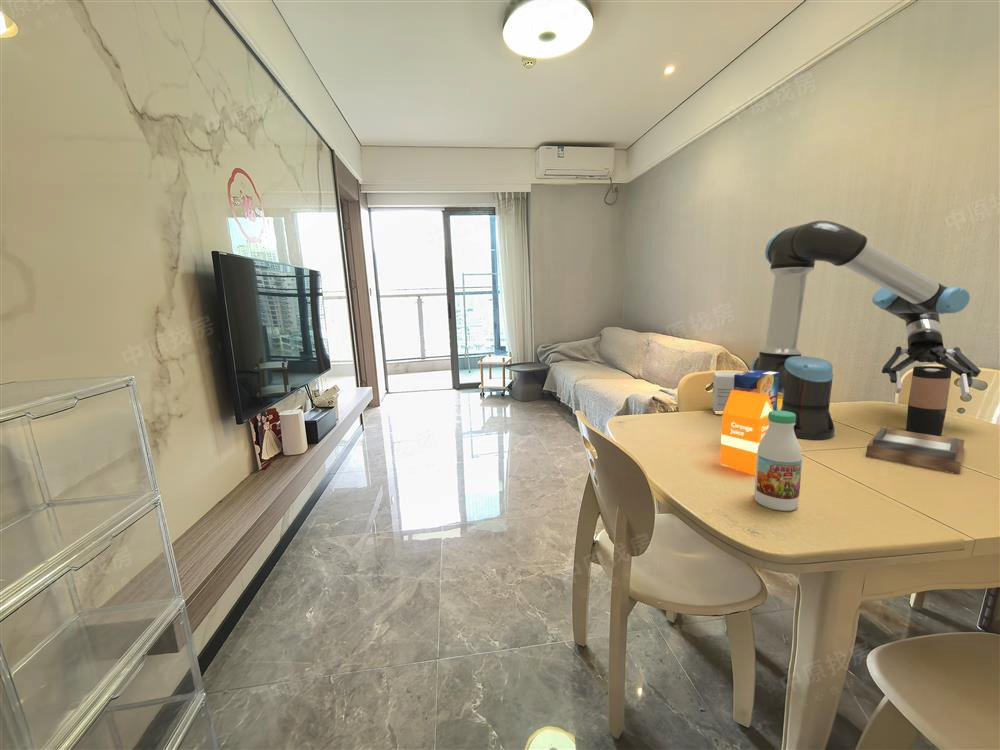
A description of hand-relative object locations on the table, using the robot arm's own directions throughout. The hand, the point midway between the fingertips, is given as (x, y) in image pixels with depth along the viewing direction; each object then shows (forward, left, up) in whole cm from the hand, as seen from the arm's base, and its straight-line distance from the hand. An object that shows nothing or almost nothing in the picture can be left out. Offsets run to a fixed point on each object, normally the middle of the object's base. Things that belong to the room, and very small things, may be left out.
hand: (930, 392), depth 114 cm
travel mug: (-2, -2, -12) cm, 13 cm away
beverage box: (-53, -16, -12) cm, 57 cm away
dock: (-15, -18, -12) cm, 26 cm away
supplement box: (-48, +21, -12) cm, 54 cm away
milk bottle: (-61, -49, -12) cm, 80 cm away
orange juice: (-60, -30, -12) cm, 69 cm away
